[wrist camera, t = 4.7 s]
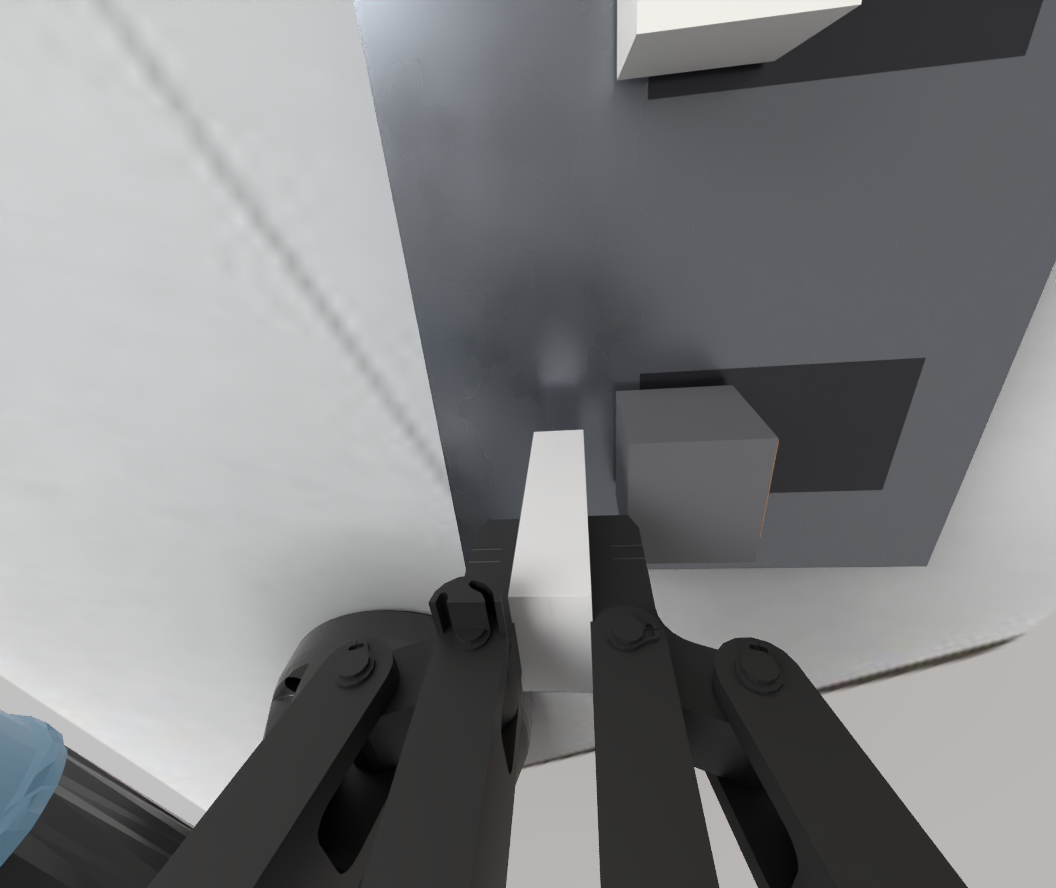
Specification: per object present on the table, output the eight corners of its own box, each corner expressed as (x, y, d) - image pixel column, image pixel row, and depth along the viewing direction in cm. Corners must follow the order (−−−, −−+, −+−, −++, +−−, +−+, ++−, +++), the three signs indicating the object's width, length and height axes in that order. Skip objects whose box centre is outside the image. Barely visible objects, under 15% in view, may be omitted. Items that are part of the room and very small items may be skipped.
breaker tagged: (727, 490, 16) (766, 562, 13) (615, 494, 17) (626, 563, 14) (742, 384, 14) (791, 437, 11) (615, 391, 15) (628, 444, 12)
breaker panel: (879, 518, 20) (926, 566, 18) (478, 526, 22) (466, 571, 20) (1182, -378, 10) (1419, -600, 7) (352, -210, 11) (287, -334, 9)
